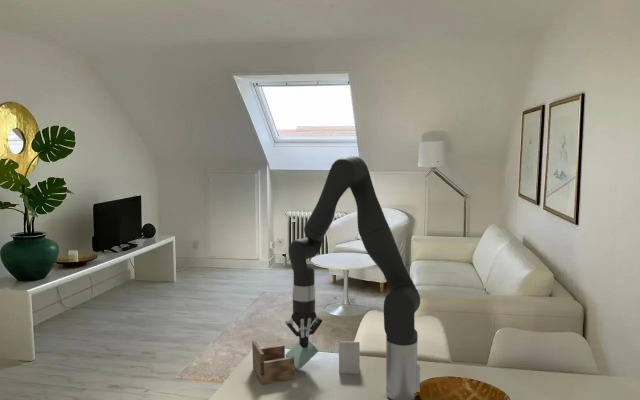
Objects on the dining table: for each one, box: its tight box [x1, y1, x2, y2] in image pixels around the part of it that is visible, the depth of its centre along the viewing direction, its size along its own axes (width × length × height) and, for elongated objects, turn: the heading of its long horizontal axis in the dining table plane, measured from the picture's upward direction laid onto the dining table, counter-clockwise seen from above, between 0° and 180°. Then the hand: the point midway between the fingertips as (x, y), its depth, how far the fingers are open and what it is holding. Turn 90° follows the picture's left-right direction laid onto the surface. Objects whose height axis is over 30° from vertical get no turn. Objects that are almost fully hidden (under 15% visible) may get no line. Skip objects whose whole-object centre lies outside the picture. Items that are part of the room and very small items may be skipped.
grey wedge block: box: [338, 340, 361, 374], centre depth 170 cm, size 4×7×10 cm, turn 84°
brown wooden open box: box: [251, 339, 296, 385], centre depth 168 cm, size 11×12×10 cm
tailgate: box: [285, 339, 319, 372], centre depth 171 cm, size 1×12×10 cm
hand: (303, 346), depth 172 cm, fingers closed
